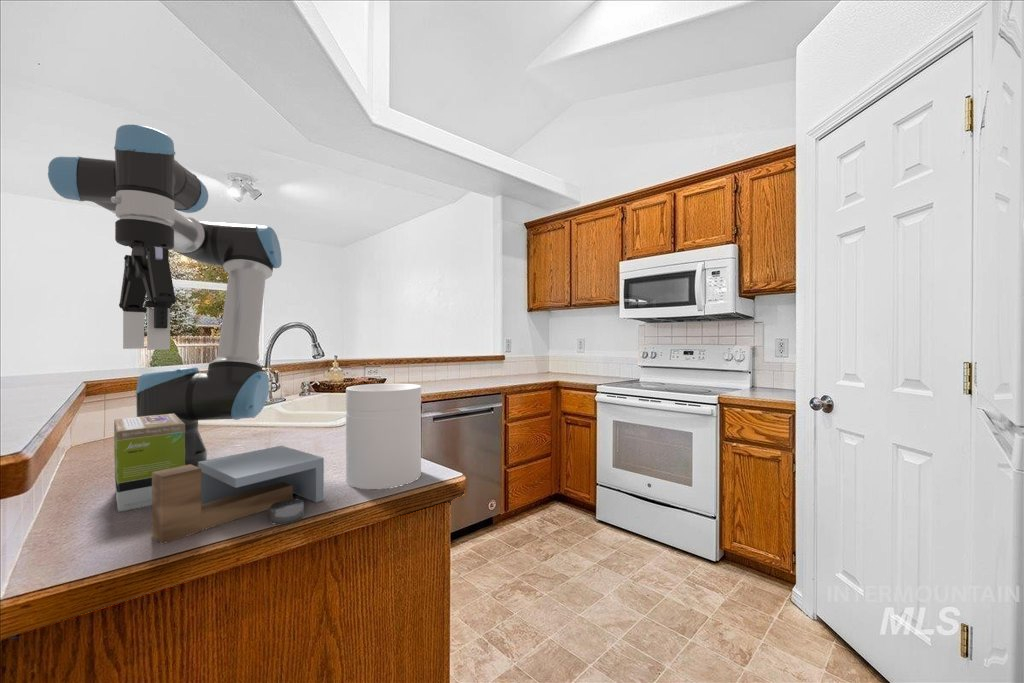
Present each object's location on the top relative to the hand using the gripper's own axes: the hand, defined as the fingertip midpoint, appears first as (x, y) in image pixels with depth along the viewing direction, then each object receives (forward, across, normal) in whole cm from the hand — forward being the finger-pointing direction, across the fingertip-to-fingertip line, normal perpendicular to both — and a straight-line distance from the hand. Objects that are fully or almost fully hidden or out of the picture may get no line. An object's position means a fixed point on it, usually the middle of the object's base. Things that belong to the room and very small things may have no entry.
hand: (145, 349), depth 72 cm
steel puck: (+29, +19, +14) cm, 37 cm away
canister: (+29, +14, +38) cm, 50 cm away
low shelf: (+29, +8, +15) cm, 33 cm away
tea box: (+29, -14, +4) cm, 32 cm away
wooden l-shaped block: (+29, +11, +9) cm, 32 cm away
